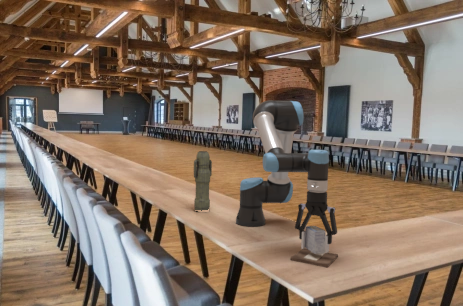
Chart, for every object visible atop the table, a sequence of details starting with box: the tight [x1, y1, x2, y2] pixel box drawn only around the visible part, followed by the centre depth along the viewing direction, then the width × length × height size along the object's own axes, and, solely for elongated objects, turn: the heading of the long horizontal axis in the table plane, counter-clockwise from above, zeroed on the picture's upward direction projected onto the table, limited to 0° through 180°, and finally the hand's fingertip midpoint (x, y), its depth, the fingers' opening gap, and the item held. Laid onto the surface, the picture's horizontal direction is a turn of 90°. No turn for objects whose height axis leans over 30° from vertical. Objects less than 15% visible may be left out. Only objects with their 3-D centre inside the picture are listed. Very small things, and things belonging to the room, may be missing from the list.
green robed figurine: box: [193, 150, 213, 211], centre depth 231 cm, size 9×12×35 cm
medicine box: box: [305, 225, 326, 254], centre depth 150 cm, size 8×4×9 cm, turn 16°
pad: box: [290, 248, 339, 268], centre depth 150 cm, size 14×14×1 cm
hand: (314, 249), depth 150 cm, fingers closed on medicine box, 8 cm apart
